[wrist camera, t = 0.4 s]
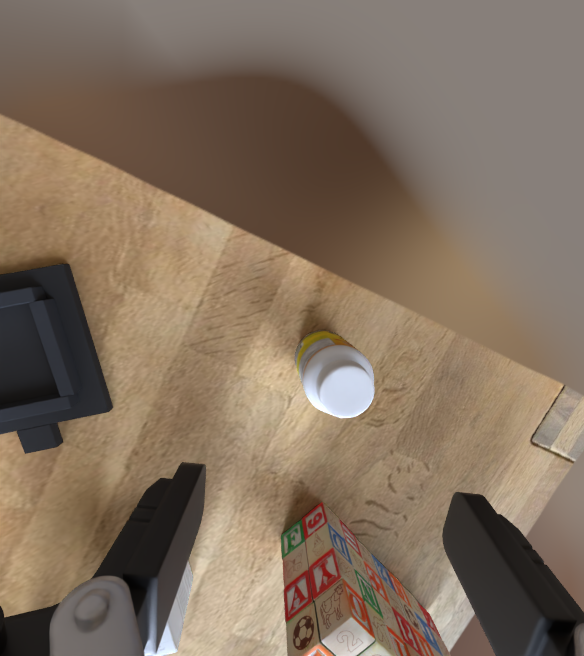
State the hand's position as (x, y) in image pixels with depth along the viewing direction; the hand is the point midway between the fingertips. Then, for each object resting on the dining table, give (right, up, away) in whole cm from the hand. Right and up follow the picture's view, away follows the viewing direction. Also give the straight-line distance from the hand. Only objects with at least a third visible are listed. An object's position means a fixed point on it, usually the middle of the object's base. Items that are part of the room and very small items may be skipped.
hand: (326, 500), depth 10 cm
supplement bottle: (+2, +3, +22) cm, 23 cm away
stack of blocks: (+7, -23, +27) cm, 37 cm away
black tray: (-28, +2, +20) cm, 34 cm away
